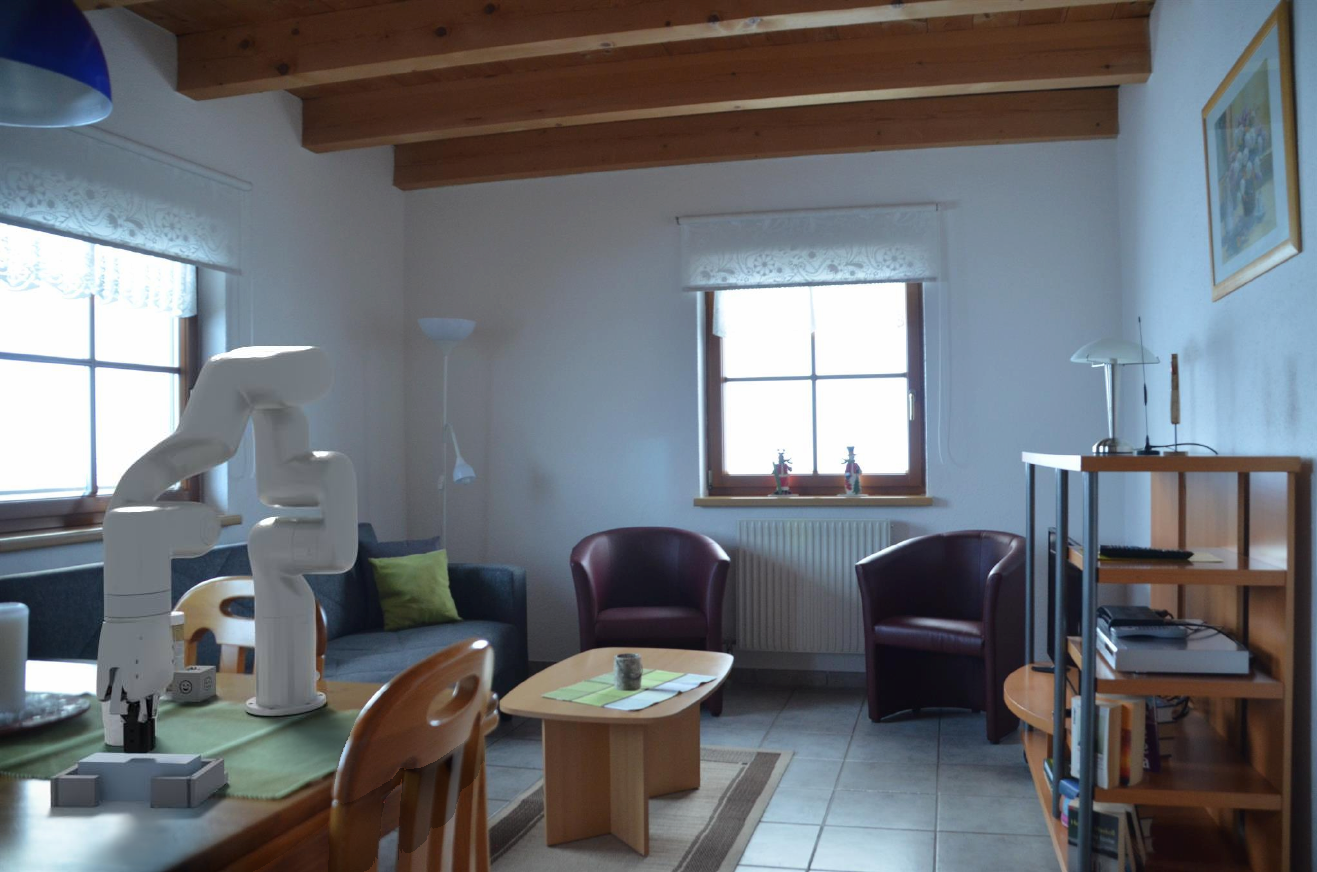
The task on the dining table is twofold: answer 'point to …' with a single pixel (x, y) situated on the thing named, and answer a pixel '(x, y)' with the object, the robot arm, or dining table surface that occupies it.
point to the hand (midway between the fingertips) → (139, 751)
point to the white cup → (115, 726)
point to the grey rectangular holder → (164, 789)
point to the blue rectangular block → (135, 772)
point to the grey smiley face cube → (194, 683)
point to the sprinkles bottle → (177, 641)
